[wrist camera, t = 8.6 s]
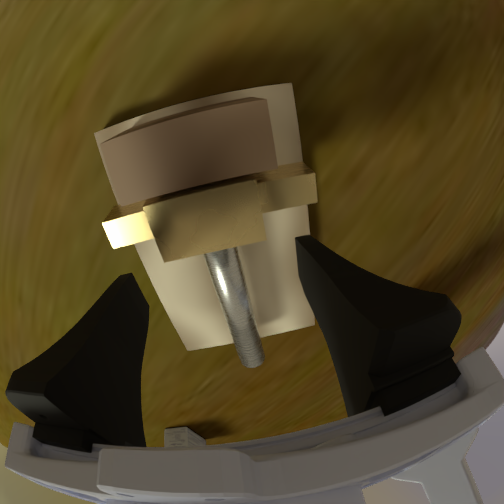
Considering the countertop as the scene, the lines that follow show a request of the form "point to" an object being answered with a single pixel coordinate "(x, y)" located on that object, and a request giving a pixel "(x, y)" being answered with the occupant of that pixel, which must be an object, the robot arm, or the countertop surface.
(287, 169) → the wing nut
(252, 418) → the countertop surface
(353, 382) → the robot arm
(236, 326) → the threaded rod
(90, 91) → the countertop surface
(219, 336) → the beige blocky piece
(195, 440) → the medicine box
